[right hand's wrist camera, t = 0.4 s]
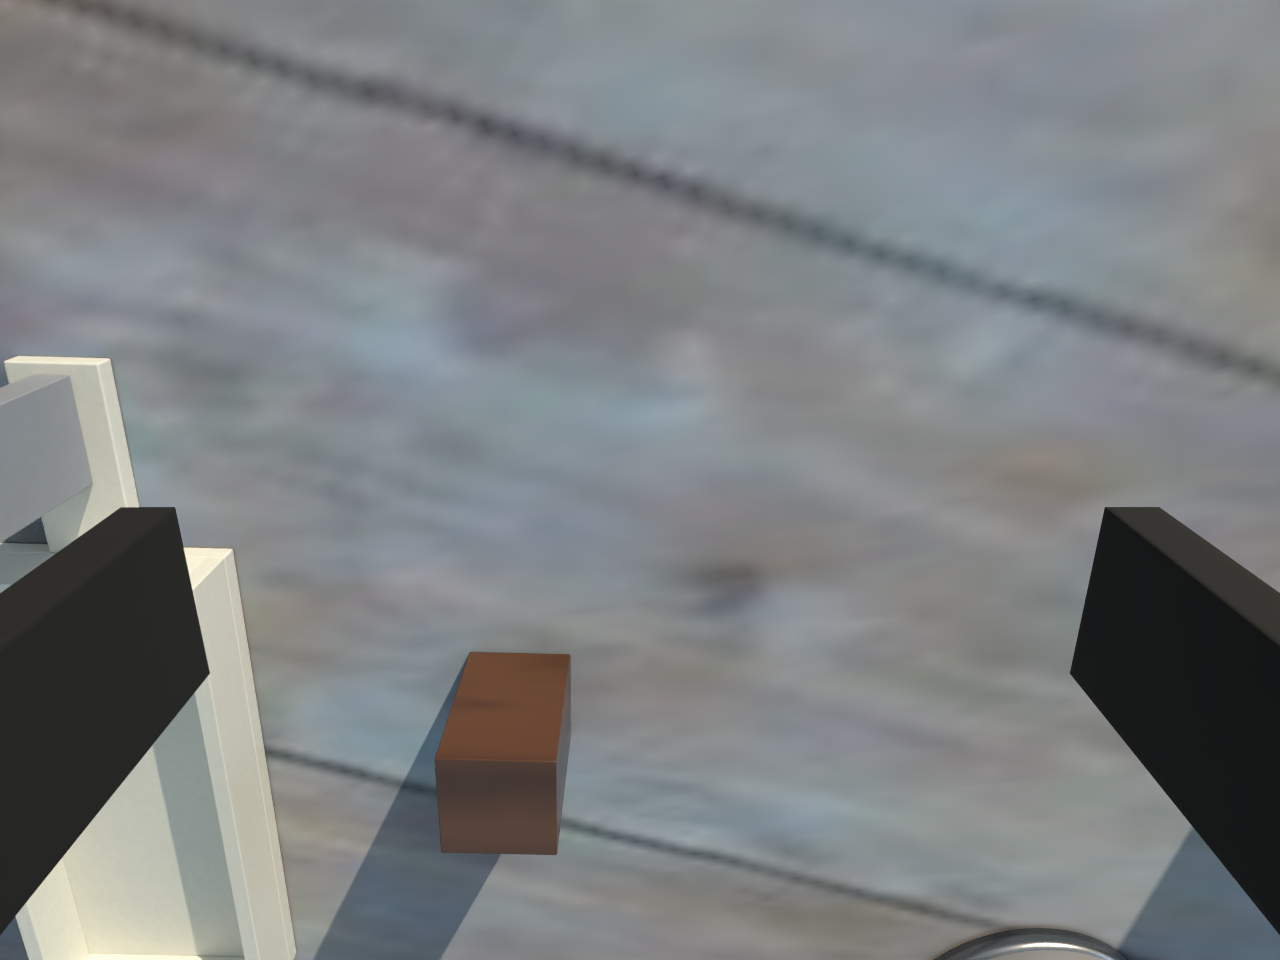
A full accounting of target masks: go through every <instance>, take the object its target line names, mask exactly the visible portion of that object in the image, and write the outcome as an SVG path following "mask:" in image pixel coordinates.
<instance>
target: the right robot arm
mask: <svg viewBox="0 0 1280 960" xmlns="http://www.w3.org/2000/svg"><path fill="white" fill-rule="evenodd" d="M209 674H210V671H209V666H208V661H207V657H206V652H205V647H204V642H203V638H202V633H201V628H200V623H199V619H198V614H197V609H196V604H195V600H194V595H193V590H192V585H191V581H190V576H189V571H188V566H187V562H186V557H185V552H184V547H183V543H182V538H181V533H180V528H179V524H178V519H177V514H176V509H175V507H120V508H119V509H118V510H116V511H115V512H113V513H112V514H111V515H109V516H108V517H106V518H105V519H104V520H102V521H101V522H99V523H98V524H97V525H95V526H94V527H92V528H91V529H90V530H88V531H87V532H85V533H84V534H83V535H81V536H80V537H78V538H77V539H76V540H74V541H73V542H71V543H70V544H69V545H67V546H66V547H64V548H63V549H62V550H60V551H59V552H57V553H56V554H54V555H53V556H52V557H50V558H49V559H47V560H46V561H45V562H43V563H42V564H40V565H39V566H38V567H36V568H35V569H33V570H32V571H31V572H29V573H28V574H26V575H25V576H24V577H22V578H21V579H19V580H18V581H17V582H15V583H14V584H12V585H11V586H10V587H8V588H7V589H5V590H4V591H3V592H1V593H0V935H1V933H2V932H3V931H4V930H5V928H6V927H7V926H8V925H9V923H10V922H11V921H12V920H13V918H14V917H15V916H16V915H17V913H18V912H19V911H20V910H21V908H22V907H23V906H24V905H25V903H26V902H27V901H28V900H29V898H30V897H31V896H32V895H33V893H34V892H35V891H36V890H37V889H38V887H39V886H40V885H41V884H42V882H43V881H44V880H45V879H46V877H47V876H48V875H49V874H50V872H51V871H52V870H53V869H54V867H55V866H56V865H57V864H58V862H59V861H60V860H61V859H62V857H63V856H64V855H65V854H66V852H67V851H68V850H69V849H70V847H71V846H72V845H73V844H74V842H75V841H76V840H77V839H78V837H79V836H80V835H81V834H82V832H83V831H84V830H85V829H86V827H87V826H88V825H89V824H90V822H91V821H92V820H93V819H94V817H95V816H96V815H97V814H98V812H99V811H100V810H101V809H102V807H103V806H104V805H105V804H106V802H107V801H108V800H109V799H110V798H111V796H112V795H113V794H114V793H115V791H116V790H117V789H118V788H119V786H120V785H121V784H122V783H123V781H124V780H125V779H126V778H127V776H128V775H129V774H130V773H131V771H132V770H133V769H134V768H135V766H136V765H137V764H138V763H139V761H140V760H141V759H142V758H143V756H144V755H145V754H146V753H147V751H148V750H149V749H150V748H151V746H152V745H153V744H154V743H155V741H156V740H157V739H158V738H159V736H160V735H161V734H162V733H163V731H164V730H165V729H166V728H167V726H168V725H169V724H170V723H171V721H172V720H173V719H174V718H175V716H176V715H177V714H178V713H179V711H180V710H181V709H182V708H183V707H184V705H185V704H186V703H187V702H188V700H189V699H190V698H191V697H192V695H193V694H194V693H195V692H196V690H197V689H198V688H199V687H200V685H201V684H202V683H203V682H204V680H205V679H206V678H207V677H208V675H209ZM1070 674H1071V675H1072V677H1073V678H1074V679H1075V680H1076V682H1077V683H1078V684H1079V685H1080V687H1081V688H1082V689H1083V690H1084V692H1085V693H1086V694H1087V695H1088V697H1089V698H1090V699H1091V700H1092V702H1093V703H1094V704H1095V705H1096V707H1097V708H1098V709H1099V710H1100V711H1101V713H1102V714H1103V715H1104V716H1105V718H1106V719H1107V720H1108V721H1109V723H1110V724H1111V725H1112V726H1113V728H1114V729H1115V730H1116V731H1117V733H1118V734H1119V735H1120V736H1121V738H1122V739H1123V740H1124V741H1125V743H1126V744H1127V745H1128V746H1129V748H1130V749H1131V750H1132V751H1133V753H1134V754H1135V755H1136V756H1137V758H1138V759H1139V760H1140V761H1141V763H1142V764H1143V765H1144V766H1145V768H1146V769H1147V770H1148V771H1149V773H1150V774H1151V775H1152V776H1153V778H1154V779H1155V780H1156V781H1157V783H1158V784H1159V785H1160V786H1161V788H1162V789H1163V790H1164V791H1165V793H1166V794H1167V795H1168V796H1169V798H1170V799H1171V800H1172V801H1173V802H1174V804H1175V805H1176V806H1177V807H1178V809H1179V810H1180V811H1181V812H1182V814H1183V815H1184V816H1185V817H1186V819H1187V820H1188V821H1189V822H1190V824H1191V825H1192V826H1193V827H1194V829H1195V830H1196V831H1197V832H1198V834H1199V835H1200V836H1201V837H1202V839H1203V840H1204V841H1205V842H1206V844H1207V845H1208V846H1209V847H1210V849H1211V850H1212V851H1213V852H1214V854H1215V855H1216V856H1217V857H1218V859H1219V860H1220V861H1221V862H1222V864H1223V865H1224V866H1225V867H1226V869H1227V870H1228V871H1229V872H1230V874H1231V875H1232V876H1233V877H1234V879H1235V880H1236V881H1237V882H1238V884H1239V885H1240V886H1241V887H1242V889H1243V890H1244V891H1245V892H1246V893H1247V895H1248V896H1249V897H1250V898H1251V900H1252V901H1253V902H1254V903H1255V905H1256V906H1257V907H1258V908H1259V910H1260V911H1261V912H1262V913H1263V915H1264V916H1265V917H1266V918H1267V920H1268V921H1269V922H1270V923H1271V925H1272V926H1273V927H1274V928H1275V930H1276V931H1277V932H1278V933H1279V935H1280V593H1279V592H1277V591H1276V590H1275V589H1273V588H1272V587H1270V586H1269V585H1268V584H1266V583H1265V582H1263V581H1262V580H1261V579H1259V578H1258V577H1256V576H1255V575H1254V574H1252V573H1251V572H1249V571H1248V570H1247V569H1245V568H1244V567H1242V566H1241V565H1240V564H1238V563H1237V562H1235V561H1234V560H1233V559H1231V558H1230V557H1228V556H1227V555H1226V554H1224V553H1223V552H1221V551H1220V550H1218V549H1217V548H1216V547H1214V546H1213V545H1211V544H1210V543H1209V542H1207V541H1206V540H1204V539H1203V538H1202V537H1200V536H1199V535H1197V534H1196V533H1195V532H1193V531H1192V530H1190V529H1189V528H1188V527H1186V526H1185V525H1183V524H1182V523H1181V522H1179V521H1178V520H1176V519H1175V518H1174V517H1172V516H1171V515H1169V514H1168V513H1167V512H1165V511H1164V510H1162V509H1161V508H1160V507H1105V509H1104V514H1103V519H1102V524H1101V528H1100V533H1099V538H1098V543H1097V547H1096V552H1095V557H1094V562H1093V566H1092V571H1091V576H1090V581H1089V585H1088V590H1087V595H1086V600H1085V604H1084V609H1083V614H1082V619H1081V623H1080V628H1079V633H1078V638H1077V642H1076V647H1075V652H1074V657H1073V661H1072V666H1071V671H1070ZM935 960H1127V958H1126V957H1124V956H1123V955H1122V954H1121V953H1120V952H1118V951H1117V950H1115V949H1114V948H1112V947H1111V946H1109V945H1107V944H1105V943H1103V942H1101V941H1099V940H1097V939H1094V938H1092V937H1089V936H1086V935H1083V934H1079V933H1075V932H1070V931H1065V930H1057V929H1043V928H1034V929H1019V930H1011V931H1005V932H999V933H995V934H991V935H987V936H984V937H981V938H977V939H974V940H972V941H969V942H967V943H964V944H962V945H960V946H958V947H956V948H954V949H951V950H950V951H948V952H946V953H944V954H943V955H941V956H939V957H938V958H936V959H935Z"/></svg>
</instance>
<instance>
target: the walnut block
mask: <svg viewBox="0 0 1280 960" xmlns="http://www.w3.org/2000/svg"><path fill="white" fill-rule="evenodd" d="M569 745H570V655H567V654H526V653H485V652H470V653H469V656H468V659H467V662H466V665H465V668H464V671H463V674H462V677H461V680H460V683H459V686H458V689H457V692H456V695H455V699H454V702H453V705H452V708H451V711H450V714H449V717H448V720H447V723H446V726H445V729H444V732H443V735H442V738H441V741H440V744H439V747H438V750H437V753H436V756H435V771H436V785H437V800H438V814H439V828H440V842H441V852H444V853H490V854H536V855H556V854H557V850H558V841H559V833H560V824H561V815H562V807H563V798H564V789H565V780H566V772H567V763H568V754H569Z"/></svg>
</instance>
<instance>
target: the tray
mask: <svg viewBox="0 0 1280 960" xmlns="http://www.w3.org/2000/svg"><path fill="white" fill-rule="evenodd" d="M4 366H5V370H6V374H7V378H8V382H9V385H6V386H4V387H1V388H0V593H1V592H3V591H4V590H5V589H7V588H8V587H10V586H11V585H12V584H14V583H15V582H17V581H18V580H19V579H21V578H22V577H24V576H25V575H26V574H28V573H29V572H31V571H32V570H33V569H35V568H36V567H38V566H39V565H40V564H42V563H43V562H45V561H46V560H47V559H49V558H50V557H52V556H53V555H54V554H56V553H57V552H59V551H60V550H62V549H63V548H64V547H66V546H67V545H69V544H70V543H71V542H73V541H74V540H76V539H77V538H78V537H80V536H81V535H83V534H84V533H85V532H87V531H88V530H90V529H91V528H92V527H94V526H95V525H97V524H98V523H99V522H101V521H102V520H104V519H105V518H106V517H108V516H109V515H111V514H112V513H113V512H115V511H116V510H118V509H119V508H120V507H139V503H138V498H137V493H136V488H135V482H134V477H133V472H132V467H131V462H130V457H129V452H128V447H127V442H126V437H125V432H124V427H123V422H122V417H121V411H120V406H119V401H118V396H117V391H116V386H115V381H114V376H113V371H112V366H111V361H110V359H105V358H70V357H34V356H17V357H15V358H12V359H9V360H6V361H4ZM40 517H41V518H42V522H43V526H44V531H45V535H46V539H47V543H48V544H23V543H1V542H3V541H4V540H6V539H7V538H9V537H10V536H12V535H14V534H15V533H17V532H18V531H20V530H21V529H23V528H24V527H26V526H28V525H29V524H31V523H32V522H34V521H35V520H37V519H39V518H40ZM184 552H185V557H186V562H187V566H188V571H189V576H190V581H191V585H192V590H193V595H194V600H195V604H196V609H197V614H198V619H199V623H200V628H201V633H202V638H203V642H204V647H205V652H206V657H207V661H208V666H209V671H210V674H209V675H208V677H207V678H206V679H205V680H204V682H203V683H202V684H201V685H200V687H199V688H198V689H197V690H196V692H195V693H194V694H193V695H192V697H191V698H190V699H189V700H188V702H187V703H186V704H185V705H184V707H183V708H182V709H181V710H180V711H179V713H178V714H177V715H176V716H175V718H174V719H173V720H172V721H171V723H170V724H169V725H168V726H167V728H166V729H165V730H164V731H163V733H162V734H161V735H160V736H159V738H158V739H157V740H156V741H155V743H154V744H153V745H152V746H151V748H150V749H149V750H148V751H147V753H146V754H145V755H144V756H143V758H142V759H141V760H140V761H139V763H138V764H137V765H136V766H135V768H134V769H133V770H132V771H131V773H130V774H129V775H128V776H127V778H126V779H125V780H124V781H123V783H122V784H121V785H120V786H119V788H118V789H117V790H116V791H115V793H114V794H113V795H112V796H111V798H110V799H109V800H108V801H107V802H106V804H105V805H104V806H103V807H102V809H101V810H100V811H99V812H98V814H97V815H96V816H95V817H94V819H93V820H92V821H91V822H90V824H89V825H88V826H87V827H86V829H85V830H84V831H83V832H82V834H81V835H80V836H79V837H78V839H77V840H76V841H75V842H74V844H73V845H72V846H71V847H70V849H69V850H68V851H67V852H66V854H65V855H64V856H63V857H62V859H61V860H60V861H59V862H58V864H57V865H56V866H55V867H54V869H53V870H52V871H51V872H50V874H49V875H48V876H47V877H46V879H45V880H44V881H43V882H42V884H41V885H40V886H39V887H38V889H37V890H36V891H35V892H34V893H33V895H32V896H31V897H30V898H29V900H28V901H27V902H26V903H25V905H24V906H23V907H22V908H21V910H20V911H19V912H18V913H17V915H16V916H15V917H16V920H17V923H18V926H19V930H20V933H21V936H22V939H23V942H24V946H25V949H26V952H27V955H28V958H29V960H293V959H294V957H295V954H296V947H295V941H294V935H293V928H292V922H291V916H290V909H289V903H288V897H287V890H286V884H285V878H284V871H283V865H282V859H281V852H280V846H279V840H278V833H277V827H276V821H275V814H274V808H273V801H272V795H271V789H270V782H269V776H268V770H267V763H266V757H265V751H264V744H263V738H262V732H261V725H260V719H259V713H258V706H257V700H256V694H255V687H254V681H253V675H252V668H251V662H250V656H249V649H248V643H247V636H246V630H245V624H244V617H243V611H242V605H241V598H240V592H239V586H238V579H237V573H236V567H235V560H234V554H233V549H218V548H184Z"/></svg>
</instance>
